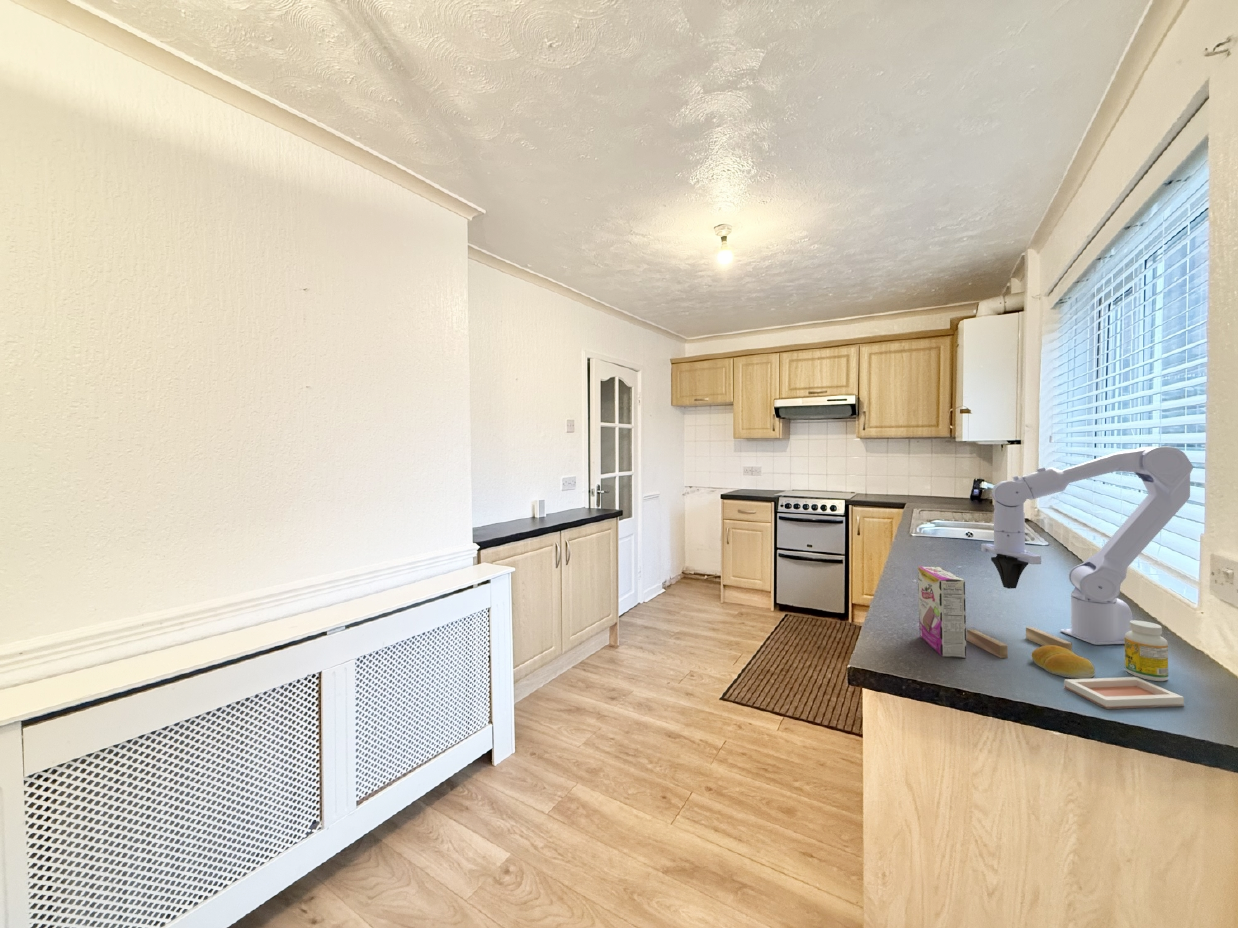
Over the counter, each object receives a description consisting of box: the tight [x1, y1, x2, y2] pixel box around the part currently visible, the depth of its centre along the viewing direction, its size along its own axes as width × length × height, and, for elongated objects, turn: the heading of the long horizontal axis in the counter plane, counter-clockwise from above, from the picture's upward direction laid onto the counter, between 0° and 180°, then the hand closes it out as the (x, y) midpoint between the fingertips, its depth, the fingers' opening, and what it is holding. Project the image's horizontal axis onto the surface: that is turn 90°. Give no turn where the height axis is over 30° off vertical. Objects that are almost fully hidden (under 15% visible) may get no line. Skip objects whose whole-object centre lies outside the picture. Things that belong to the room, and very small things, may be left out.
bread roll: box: [1031, 645, 1096, 679], centre depth 90 cm, size 8×9×4 cm
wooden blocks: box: [966, 626, 1073, 659], centre depth 100 cm, size 15×9×2 cm, turn 91°
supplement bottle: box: [1124, 619, 1169, 682], centre depth 87 cm, size 5×5×10 cm
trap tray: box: [1064, 676, 1185, 710], centre depth 80 cm, size 13×7×2 cm, turn 91°
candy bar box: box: [917, 566, 967, 659], centre depth 101 cm, size 11×5×16 cm, turn 168°
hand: (1009, 587), depth 112 cm, fingers closed
